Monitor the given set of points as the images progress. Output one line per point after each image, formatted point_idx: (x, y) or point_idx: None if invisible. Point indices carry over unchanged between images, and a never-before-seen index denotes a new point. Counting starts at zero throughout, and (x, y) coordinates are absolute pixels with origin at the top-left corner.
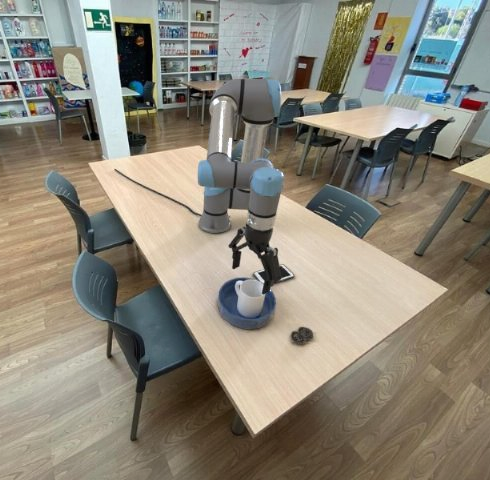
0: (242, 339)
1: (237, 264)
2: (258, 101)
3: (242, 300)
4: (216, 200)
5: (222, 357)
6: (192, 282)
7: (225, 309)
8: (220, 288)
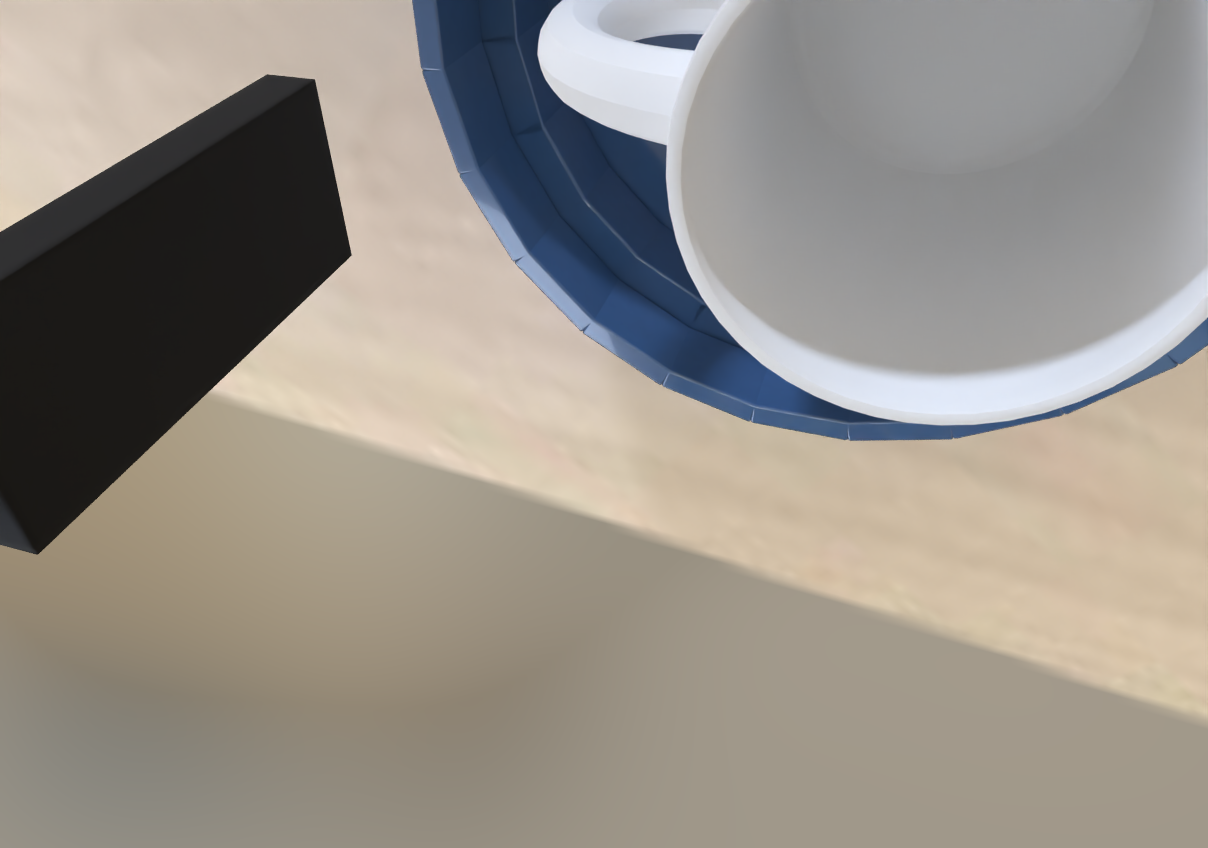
0: (1152, 387)
1: (272, 203)
2: None
3: (904, 325)
4: None
5: (1090, 610)
6: None
7: (794, 427)
8: (489, 221)
